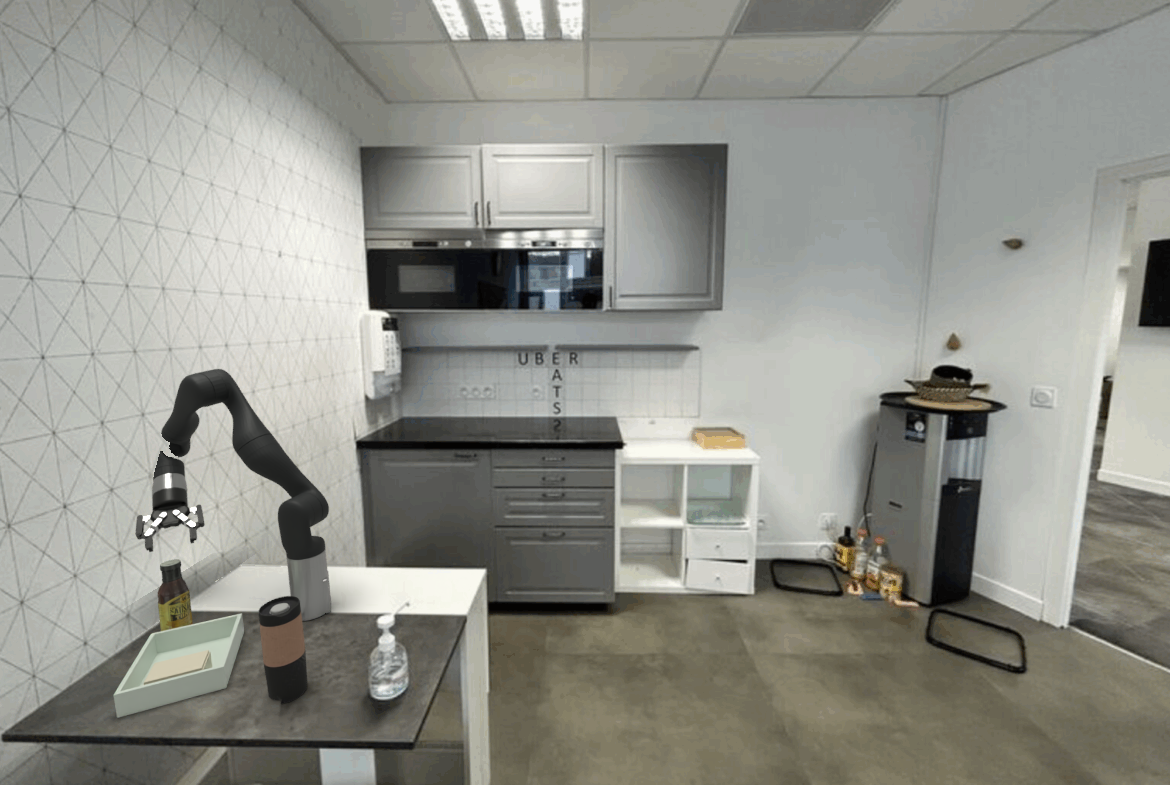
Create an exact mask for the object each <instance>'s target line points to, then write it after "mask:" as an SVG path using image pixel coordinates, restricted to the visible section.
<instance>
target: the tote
mask: <svg viewBox="0 0 1170 785" xmlns="http://www.w3.org/2000/svg"><path fill="white" fill-rule="evenodd" d="M244 627H245V626H244V620H243V612H242V613H237V614H233V615H229V616H223V617H219V618H215V619H209V620H207V621H206V620H205V621H202V622H197V623H193V624H192V625H187V626H183V627H178V628H174V629H169V630H165V631H161V630H160V631H156V632H152V633H150V635H149V637H148V638H147V640H146V641H145V643H144V645H143V646H142V648H141V649H140V651H139V653H138V654H137V656H136V658H135V659H134V661H133V663H132V664H131V666H130V667H129V669H128V670H127V672H126V674H125V675H124V677H123V679H122V680H121V682H120V684H119V685H118V687H117V689H116V690H115V692H114V694H113V702H114V706H115V712H116V718H117V719H118V718H122V717H126V716H129V715H133V714H137V713H141V712H144V711H147V710H151V709H152V710H153V709H155V708H158V707H163V706H166V705H170V704H173V703H174V704H175V703H176V702H181V701H184V700H187V699H191V698H195V697H199V696H202V695H206V694H209V693H213V692H217V691H220V690H223V689H227V687H228V685H229V682H230V681H229V680H230V679H231V675H232V671H233V668H234V665H235V662H236V659H237V656H238V653H239V649H240V645H241V643H242V639H243V637H244V633H245V628H244ZM206 650H209V652H211V660H212V668H208V669H204V670H201V671H197V672H193V673H189V674H185V675H181V676H177V677H173V678H169V679H166V680H162V681H158V682H154V683H150V684H146V685H143V684H144V681H145V679H146V678H147V676H148V674H149V672H150V670H151V668H152V667H153V665H154V663H157V662H161V661H165V660H169V659H173V658H177V657H182V656H186V655H190V654H194V653H198V652H202V651H206Z"/></svg>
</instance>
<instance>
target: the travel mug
mask: <svg viewBox="0 0 1170 785" xmlns="http://www.w3.org/2000/svg"><path fill="white" fill-rule="evenodd" d="M258 622H259V632H260V633H259V634H260V640H261V652H262V660H263V662H262V663H263V667H264V668H263V669H264V673H265V680H266V686H267V693H268V697H269V699H271V700H272V701H280V704H281V705H283V704H287V703H289V702H293V701H295V700H297V699H298V698H299V697H301V696H302V695H303V694H304V693H305V692H306V691H307V689H308V671H307V670H308V669H307V657H306V656H307V655H306V654H307V653H306V652H307V651H306V641H305V633H304V624H303V621H302V615H301V607H300V600H299V598H297V597H295V596H291V595H285V596H280V597H276V598H273V599H271V600H268V601H267V602H265V603H264V604H262V605H261V606H260V608H259V609H258Z"/></svg>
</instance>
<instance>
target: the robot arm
mask: <svg viewBox="0 0 1170 785" xmlns="http://www.w3.org/2000/svg"><path fill="white" fill-rule="evenodd" d="M221 403H223V405H224V406H225V407H226V408H227V409H228V411H229V413H230V415H231V417H232V434H231V435H232V436H231V443H232V447H233V450H234V452H235V453H236V454H237V456H238V457H239V458H240V460H241V461H242V462H243V464H244V465H245V466H246V467H247V468H248V469H249V470H250V471H252V472H253V473H255V474H257V475H258V476H260V477H263V478H265V479H267V480H269V481H271V482H273V483H275V484H277V485H278V486H279V487H281V488H282V489H283V490H285V492H286V494H288V495H289V497H290V498H288V499H287V500H284V501H283V502H281V504H280V505H279V507H278V511H277V522H278V529H279V534H280V541H281V545H282V547H283V549H284V551H285V554H286V562H287V563H286V564H287V565H286V566H287V574H288V584H289V585H288V586H289V592H290V594H289V595H290V596H295V597H297V598H299V600H300V607H301V615H302V622H303V621H310V620H315V619H317V618H320V617H321V616H324V615H325V613H326V614H328V613H331V612H332V611H331V610H332V597H331V586H330V575H329V570H328V561H327V560H328V559H327V551H326V542H325V539H324V538H323V537H322V536H320V535H312V529H311V528H312V527H314V526H315V525H317V524H319V523H321V522H323V521H324V520H325V519H326V518H327V517H328V516H329V512H330V507H329V503H328V500H327V499H326V498H325V495H323V493H322V492H321V491H320V490H319V489H318V487H316V485H314V484H313V482H312V481H310V480H309V478H308V477H307V476H306V475H305V474H304V473H303V472H302V471H301V470H300V469H299V467H298V466H297V465H296V464H295V462H294V461H293V460H292V459H291V458H290V456H289V455H288V454H287V453H286V452H285V450H284V449H283V447H282V445H280V443H279V442H278V440H277V439H276V438H275V437H274V435H273V434H272V432H271V431H270V430H269V429H268V428H267V426H266V425H265V424H264V423H263V421H262V420H261V419H260V417H259V415H257V414H256V412H255V411H254V408H252V406H251V404H250V403H249V402H248V400H247V398H246V397H245V395H244V393H243V392H242V390H241V388H240V387H239V385H238V384H237V382H236V380H235V379H234V378H233V377H232V375H231V374H230V373H229V372H228V371H226V370H225V369H222V368H215V369H209V370H208V369H207V370H204V371H201V372H200V371H199V372H195V373H191V374H189V375H187V376H185V377H183V379H182V380H181V381H180V384H179V386H178V389H177V393H176V397H175V400H174V403H173V408H172V412H171V414H170V415H169V417H168V419H167V420H166V422H165V423H164V425H163V427H162V428H161V432H160V433H161V434H162V437H163V438H164V439H165V440H166V441H168V442H170V445H169V447H170V448H169V449H170V450H171V453H173V454H174V455H175V456H178V458H174V457H168V456H166V455H165V454H164V453H163V451H160V454H159V457H158V461H157V465H156V468H155V472H154V477H153V476H152V488H151V497H152V498H151V499H152V501H151V503H152V512H151V514H150V515H144V516H143V515H142V514H140V515H139V514H138V515H137V516H136V521H135V522H136V523H135V537H136V539H137V540H142V539H143V540H144V548H145V550H146V551H148V552H149V553H151V552H154V539H153V537H154V536H156V534H158V533H159V532H160V531H161V530H162V529H164V530H165V529H169V528H172V527H173V528H174V527H179V526H180V525H183V526H184V527H185V528H187V529H189V542H190V544H195V541H197V540H198V529H200V528H203V527H205V526H206V523H205V518H204V517H205V516H204V512H203V506H202V505H201V504H197V505H196V506H193V507H190V506H188V505H189V504H188V488H187V481H186V472H185V470H186V469H185V464H184V463H185V462H184V461H182V460H181V459H179V458H182V457H185V456H186V455H188V454H189V453H190V450H191V439H192V436H193V435H194V433H195V432H196V430H197V429H198V427H199V425H200V417H199V415H198V413H197V411H198V410H200V409H201V408H202V409H203V408H207V407H210V406H214V405H218V404H221ZM191 513H192V514H193V515H194V516H196V517H197V521H196V522H194V521H192V520H191V519H190V518H189V516H190V514H191ZM149 521H151V522H152V523H151V525H150V527H149V528H148V529H147V530H146V531H144V530H145V525H147V524H148V523H149Z"/></svg>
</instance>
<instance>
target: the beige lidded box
mask: <svg viewBox="0 0 1170 785" xmlns="http://www.w3.org/2000/svg"><path fill="white" fill-rule="evenodd" d="M208 668H212V660H211V652H209V650H206V651H202V652H198V653H194V654H190V655H186V656H182V657H177V658H173V659H169V660H165V661H161V662H157V663H154V665H153V667H152V668H151V670H150V672H149V674H148V676H147V678H146V679H145V681H144V684H143V685H146V684H150V683H154V682H158V681H162V680H166V679H169V678H173V677H177V676H181V675H185V674H189V673H193V672H197V671H201V670H204V669H208Z"/></svg>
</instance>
